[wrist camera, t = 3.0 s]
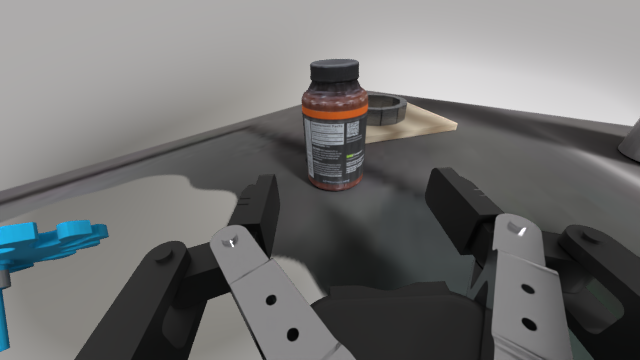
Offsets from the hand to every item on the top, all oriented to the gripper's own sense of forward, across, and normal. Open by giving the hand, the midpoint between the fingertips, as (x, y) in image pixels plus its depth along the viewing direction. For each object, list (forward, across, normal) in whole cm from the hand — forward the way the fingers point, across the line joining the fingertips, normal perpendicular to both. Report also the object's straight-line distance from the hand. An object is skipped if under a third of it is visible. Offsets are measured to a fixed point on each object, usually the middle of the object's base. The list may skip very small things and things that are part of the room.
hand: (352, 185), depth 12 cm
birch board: (+28, -8, +6) cm, 30 cm away
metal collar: (+28, -8, +6) cm, 30 cm away
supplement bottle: (+11, 0, +7) cm, 13 cm away
